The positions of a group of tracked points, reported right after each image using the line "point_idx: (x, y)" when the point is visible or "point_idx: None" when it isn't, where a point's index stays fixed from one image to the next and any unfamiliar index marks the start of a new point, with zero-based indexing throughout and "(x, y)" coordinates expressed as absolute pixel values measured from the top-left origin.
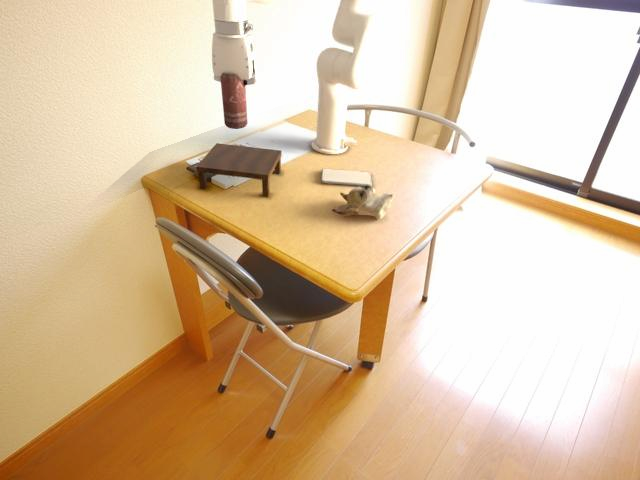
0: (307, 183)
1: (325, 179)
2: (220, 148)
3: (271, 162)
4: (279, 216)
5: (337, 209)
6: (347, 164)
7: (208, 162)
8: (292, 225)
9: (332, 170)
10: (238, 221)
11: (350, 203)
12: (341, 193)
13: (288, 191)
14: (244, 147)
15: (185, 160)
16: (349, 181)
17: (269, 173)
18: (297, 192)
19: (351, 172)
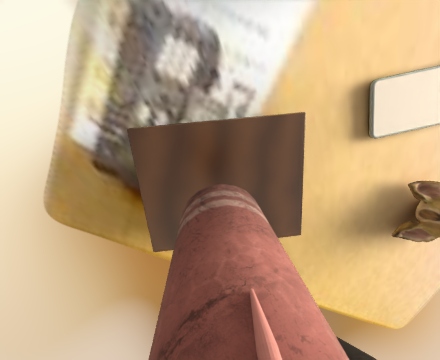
0: (340, 143)
1: (379, 131)
2: (154, 156)
3: (295, 184)
4: (309, 250)
5: (401, 232)
6: (426, 20)
7: (167, 229)
8: (330, 262)
9: (395, 83)
10: None
11: (431, 233)
12: (411, 186)
13: (310, 182)
14: (208, 129)
15: (65, 133)
16: (425, 121)
17: (300, 224)
18: (326, 180)
19: (435, 77)
